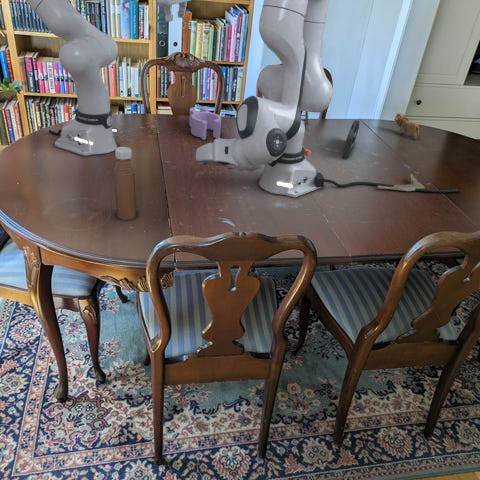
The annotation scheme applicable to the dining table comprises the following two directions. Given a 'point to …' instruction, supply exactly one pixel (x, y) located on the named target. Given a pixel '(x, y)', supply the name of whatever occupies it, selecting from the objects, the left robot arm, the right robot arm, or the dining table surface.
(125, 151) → the cap
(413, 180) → the jawbone
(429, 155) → the dining table surface
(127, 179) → the bottle
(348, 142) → the handheld gaming console
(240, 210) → the dining table surface
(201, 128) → the clip
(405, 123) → the lion figurine
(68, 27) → the left robot arm
